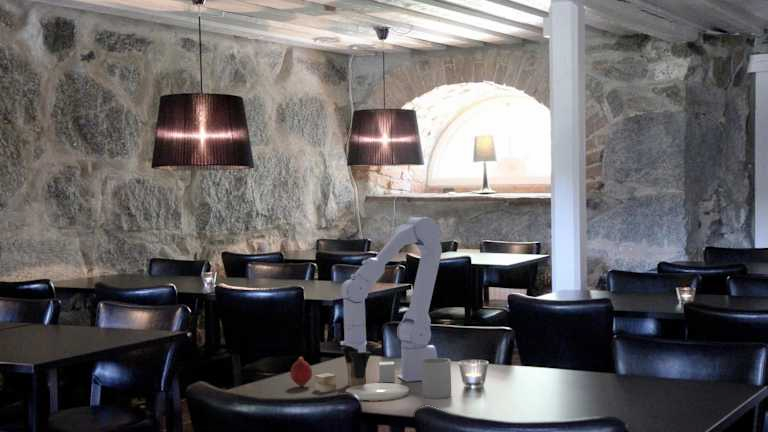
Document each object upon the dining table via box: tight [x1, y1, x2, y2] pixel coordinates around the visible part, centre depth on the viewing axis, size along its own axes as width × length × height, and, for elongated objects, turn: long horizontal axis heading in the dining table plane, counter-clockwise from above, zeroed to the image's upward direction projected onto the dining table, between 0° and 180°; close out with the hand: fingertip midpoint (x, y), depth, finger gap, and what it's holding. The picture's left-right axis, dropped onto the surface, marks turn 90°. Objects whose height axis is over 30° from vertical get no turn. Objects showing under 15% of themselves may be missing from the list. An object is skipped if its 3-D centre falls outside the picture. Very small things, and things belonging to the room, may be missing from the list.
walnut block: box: [346, 362, 367, 388], centre depth 262 cm, size 4×4×6 cm
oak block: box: [314, 372, 337, 393], centre depth 258 cm, size 4×4×4 cm
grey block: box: [378, 361, 396, 383], centre depth 267 cm, size 4×4×5 cm
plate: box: [345, 382, 410, 402], centre depth 251 cm, size 16×16×1 cm
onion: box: [290, 356, 313, 388], centre depth 263 cm, size 6×6×8 cm
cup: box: [421, 357, 452, 400], centre depth 247 cm, size 7×10×9 cm
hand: (356, 375), depth 262 cm, fingers open, 7 cm apart
